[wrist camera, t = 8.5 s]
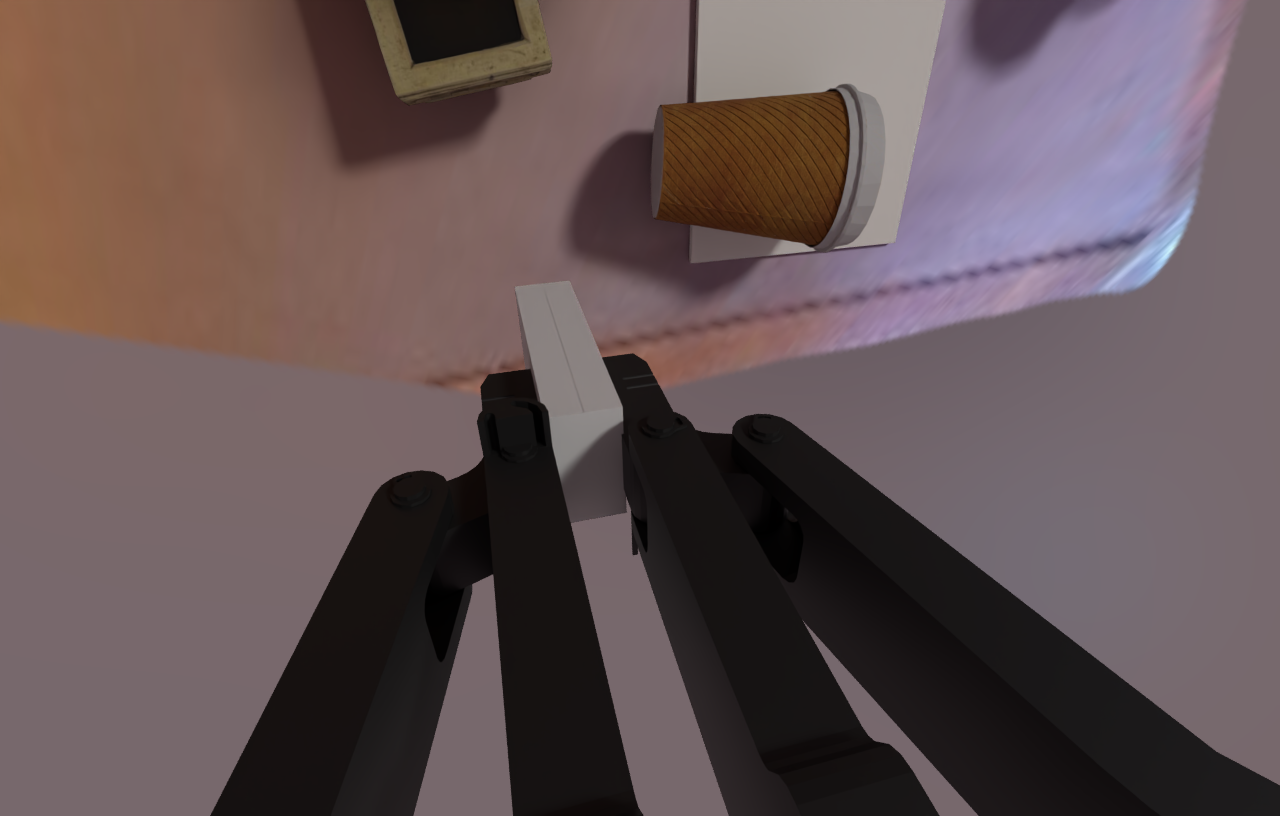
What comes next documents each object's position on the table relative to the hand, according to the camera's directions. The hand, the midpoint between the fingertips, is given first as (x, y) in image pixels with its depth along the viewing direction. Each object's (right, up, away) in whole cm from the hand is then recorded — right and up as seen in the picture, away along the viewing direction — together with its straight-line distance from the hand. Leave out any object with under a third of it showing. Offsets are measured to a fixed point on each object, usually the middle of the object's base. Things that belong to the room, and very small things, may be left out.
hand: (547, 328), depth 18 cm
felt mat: (+14, +16, +24) cm, 32 cm away
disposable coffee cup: (+3, +12, +19) cm, 23 cm away
